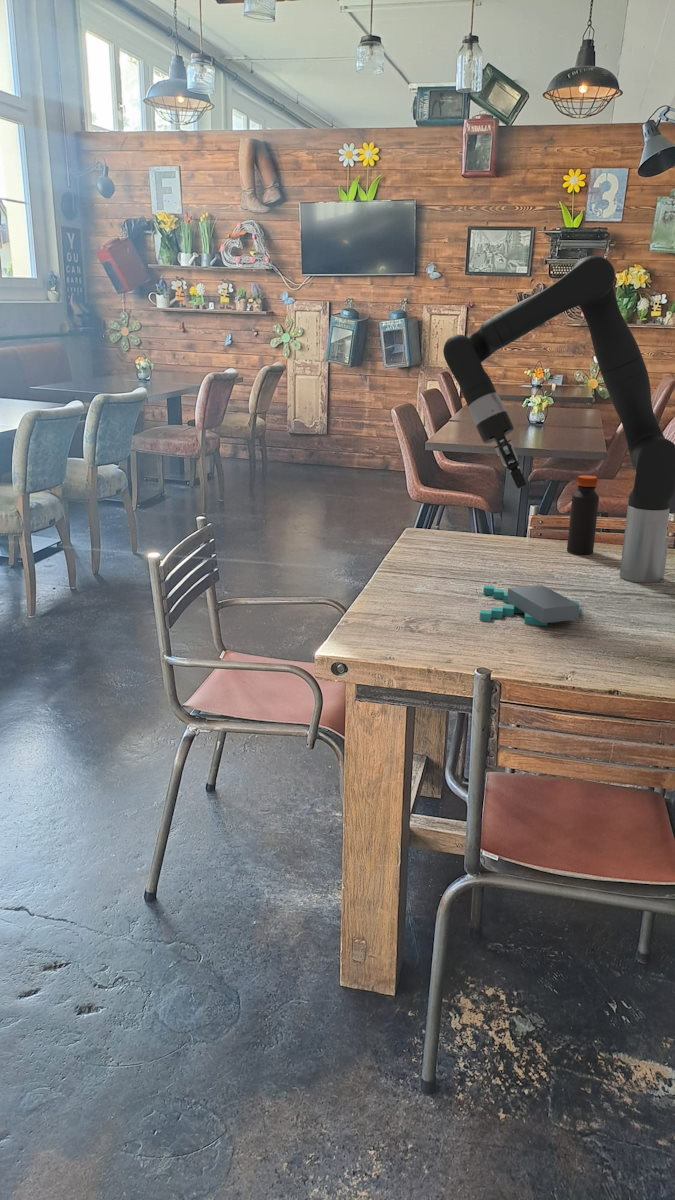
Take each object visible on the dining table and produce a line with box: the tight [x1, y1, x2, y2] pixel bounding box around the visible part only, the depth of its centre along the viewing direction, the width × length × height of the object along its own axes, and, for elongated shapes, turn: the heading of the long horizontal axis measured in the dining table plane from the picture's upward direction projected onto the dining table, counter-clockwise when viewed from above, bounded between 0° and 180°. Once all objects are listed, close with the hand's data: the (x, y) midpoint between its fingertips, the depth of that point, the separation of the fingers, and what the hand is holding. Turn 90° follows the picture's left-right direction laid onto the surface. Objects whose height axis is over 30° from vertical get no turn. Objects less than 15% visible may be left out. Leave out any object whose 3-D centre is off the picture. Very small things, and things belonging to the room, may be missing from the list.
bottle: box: [566, 474, 600, 556], centre depth 223 cm, size 7×7×20 cm
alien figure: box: [479, 584, 581, 626], centre depth 180 cm, size 20×2×20 cm
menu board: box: [506, 584, 580, 624], centre depth 174 cm, size 8×3×14 cm
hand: (522, 487), depth 193 cm, fingers closed
